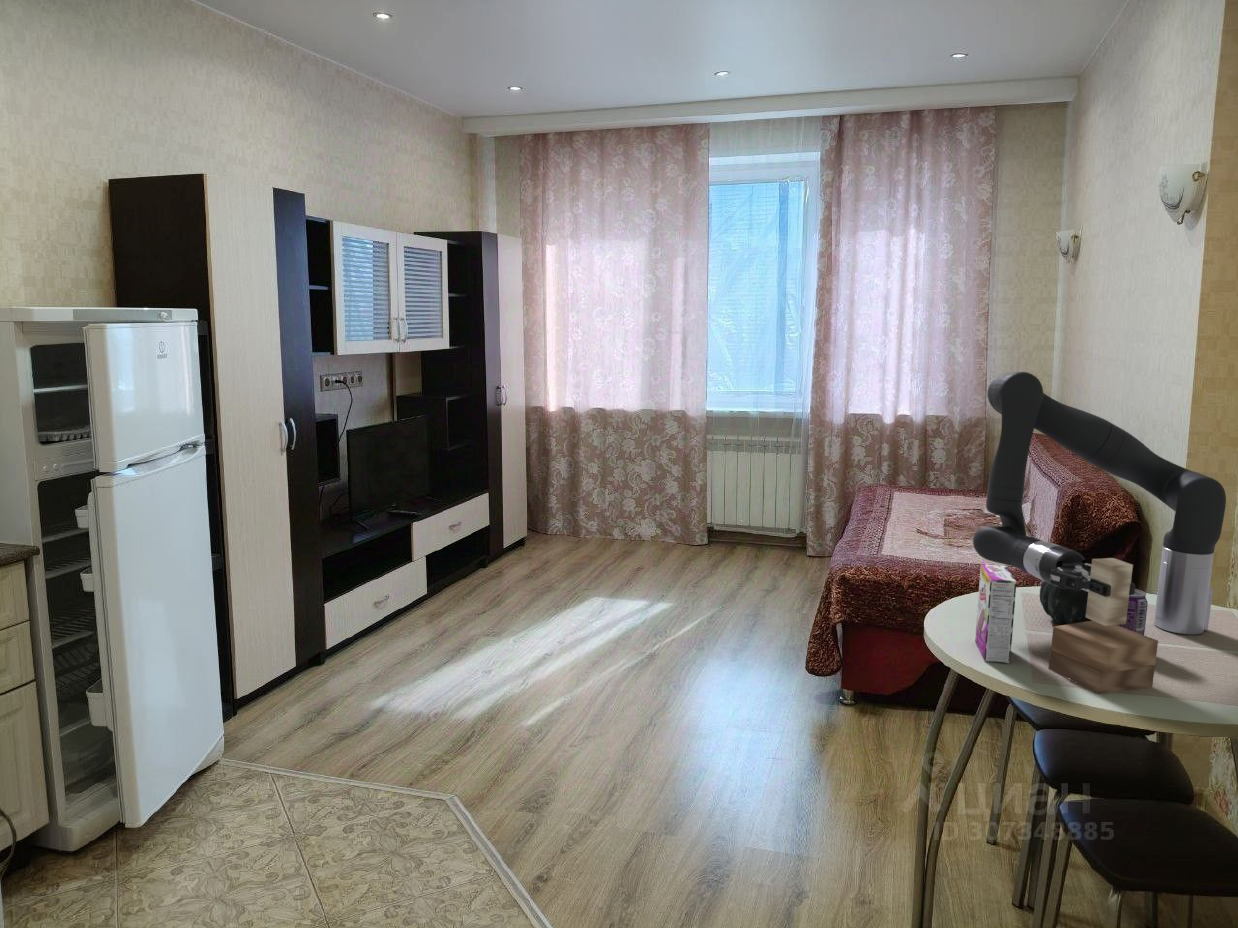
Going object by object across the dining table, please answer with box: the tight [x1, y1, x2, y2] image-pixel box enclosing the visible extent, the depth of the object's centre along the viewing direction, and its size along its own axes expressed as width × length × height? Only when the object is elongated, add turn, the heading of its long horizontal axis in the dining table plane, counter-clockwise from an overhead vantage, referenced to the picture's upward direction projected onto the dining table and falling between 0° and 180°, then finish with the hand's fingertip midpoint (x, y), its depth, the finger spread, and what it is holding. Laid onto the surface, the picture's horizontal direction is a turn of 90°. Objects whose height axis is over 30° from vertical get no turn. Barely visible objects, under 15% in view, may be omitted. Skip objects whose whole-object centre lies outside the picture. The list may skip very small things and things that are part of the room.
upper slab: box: [1050, 621, 1159, 674], centre depth 169 cm, size 12×12×4 cm
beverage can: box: [1117, 588, 1149, 636], centre depth 184 cm, size 7×7×12 cm
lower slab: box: [1048, 648, 1156, 695], centre depth 170 cm, size 12×12×4 cm
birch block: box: [1086, 557, 1134, 626], centre depth 168 cm, size 5×5×11 cm
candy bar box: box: [974, 563, 1017, 664], centre depth 181 cm, size 11×5×16 cm, turn 168°
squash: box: [1039, 580, 1093, 626], centre depth 199 cm, size 14×15×15 cm
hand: (1121, 590), depth 165 cm, fingers closed on birch block, 4 cm apart
